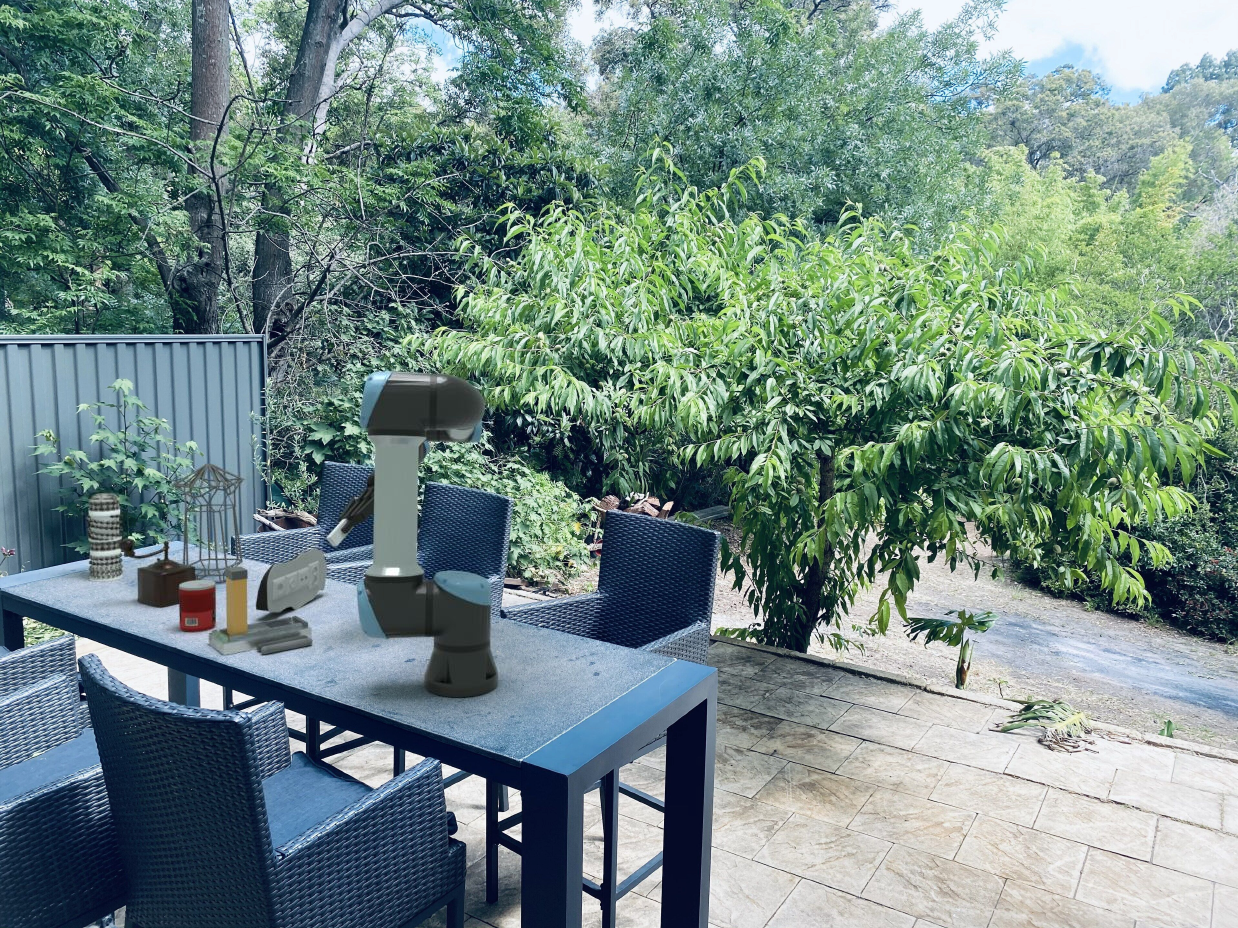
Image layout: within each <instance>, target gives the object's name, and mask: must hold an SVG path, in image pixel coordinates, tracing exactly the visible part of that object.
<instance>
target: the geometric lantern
mask: <svg viewBox="0 0 1238 928" xmlns="http://www.w3.org/2000/svg"><path fill="white" fill-rule="evenodd" d="M208 470H209V472H210V475H211V477H212V479H211V478H205V477H206V474H207V471H208ZM223 473H225V474H227V475H230V477H231V476H232V477H234V478H228V476H226V475H224V474H223ZM189 477H190V478H189ZM185 480H186V481H185ZM198 480H200V481H201V482H200V483H199V486H194V485H195V484H196V483H197V482H198ZM233 481H234V482H233ZM243 481H245V478H243V477H240V476H238V475H237V474H234V473H232V472H230V471H227V470H225V469H224V468H222V467H219V466H218V465H215V464H213V463H205V464H204V465H201V466H200V467H199V468H197V469H196V470H194V471H192V472H191V473H189V474H187V475H186V476H184V477H182V478H181V479H179V480H177V481H176V482H174V483H172V484H171V486H172V487H174V488H175V489H176V490H179V491H180V492H181V493H183V494H184V523H183V549H182V550H183V556H182V564H185V565H189V566H194V565H196V564H197V563H201V566H202V567H203V568H197V567H195V571H199V572H197V573H195V579H196V580H202V579H203V578H205V577H218V579H219V581H218V580H217V581H216V580H215V581H214V580H213V581H214V582H215V584H216V583H219V584H221V583H226V579H225V577H226V575H225V568H232V567H239V565H241V563H243V553H242V546H241V541H240V533H239V526H238V519H237V512H236V507H237V505H236V504H237V503H236V502H237V500H236V491H237V489H238V488H239V487H240V486H241V485H242V483H243ZM183 482H184V483H183ZM210 482H214V484H215V485H214V484H212V483H210ZM204 483H205V484H207V485H208V486H203V484H204ZM221 483H222V484H221ZM220 487H222V488H220ZM231 487H232V488H233V487H234V489H232V491H231ZM182 488H183V489H182ZM186 488H188V489H189V491H186ZM193 489H195V490H196V489H198V492H199V495H195V494H194V492H193ZM204 489H208V490H206V491H205V492H203V493H202V492H201V490H204ZM214 490H215V491H214ZM212 491H214V492H213V494H212V496H210V498H209V500H207V499H206V497H205V496H206V495H207V494H209V493H210V492H212ZM218 491H222V492H223V491H224V492H225V493H226V494H225V495H226V496H225V498H224V500H223V502H222V504H215V503H214V504H212V503H211V502H212V500H213V498H214V497H215V496H216V493H217V492H218ZM228 491H229V492H228ZM231 495H233V501H232V498H231V497H230V496H231ZM187 496H188V497H190V499H189V502H188V504H187ZM198 498H202V499H203V501H204V502H205V503H206V504H202V503H201V501H200V500H199V499H198ZM227 498H228V499H229V501H230V503H231V504H224V503H225V502H226V500H227ZM193 499H195V500H196V501H197V502H198V503H199V504H198V505H195V506H193V507H189V506H190V504H191V502H192V500H193ZM214 506H215V507H216V506H217V507H218V506H220V507H219V509H218V510H215V508H213V507H214ZM223 506H224V507H225V506H226V507H227V506H228V507H227V508H224V509H222V508H223ZM229 506H230V507H229ZM198 507H199V510H192V509H195V508H198ZM203 507H206V510H202V509H203ZM209 508H210V510H209ZM230 509H232V515H233V528H234V539H235V540H234V541H235V553H236V555H235V556H236V558H227V552H226V544H225V543H226V542H225V536H224V535H225V534H224V525H223V519H222V518H223V516H222V512H224V511H227V510H230ZM188 512H189V513H193V512H194V513H199V553H198V554H199V559H198V560H196V561H193V562H191V563H189V544H188V543H189V541H188V540H189V537H188V535H189V534H188V533H189V532H188ZM203 513H206V528H207V534H206V535H207V554H208V555H207V557H208V558H202V541H203V539H202V538H203V537H202V534H203V533H202V531H203V529H202V528H203V525H202V523H203V519H202V517H203V515H202V514H203ZM209 513H212V524H213V541H214V543H213V544H214V554H215V558H212V557H211V542H210V541H211V540H210V539H211V537H210V536H211V535H210V519H209V518H210V517H209V515H210V514H209ZM215 513H218V514H219V522H220V531H221V540H222V547H223V548H222V549H223V556H224V557H223V558H221V557H220V558H219V557H218V547H217V532H216V518H215ZM204 561H208V563H207V568H206V566H205V564H204ZM211 561H215V568H210V566H211V565H210V564H211V563H210V562H211ZM219 561H224V565H225V567H221V568H219ZM228 561H234V563H233V564H230V565H229V566H228ZM220 571H223V573H222V574H221V572H220ZM203 572H204V574H202V573H203ZM210 572H217V574H215V573H214V574H210Z"/></svg>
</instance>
